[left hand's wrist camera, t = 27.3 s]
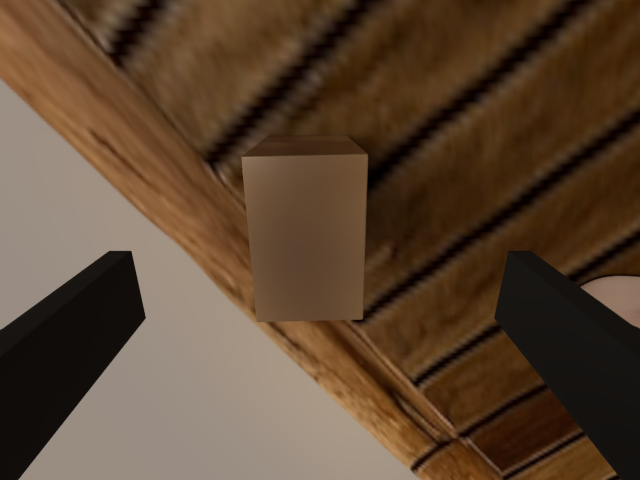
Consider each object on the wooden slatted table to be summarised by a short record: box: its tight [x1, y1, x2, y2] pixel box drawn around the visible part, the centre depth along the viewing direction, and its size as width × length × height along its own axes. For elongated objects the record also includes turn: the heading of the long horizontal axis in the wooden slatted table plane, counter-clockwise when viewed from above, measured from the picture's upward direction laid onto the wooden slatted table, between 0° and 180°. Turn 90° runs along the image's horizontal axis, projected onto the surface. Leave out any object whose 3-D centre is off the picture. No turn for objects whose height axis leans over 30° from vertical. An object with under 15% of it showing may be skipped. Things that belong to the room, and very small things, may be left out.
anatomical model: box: [581, 276, 640, 328], centre depth 29 cm, size 13×4×12 cm
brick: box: [241, 135, 368, 322], centre depth 21 cm, size 5×8×10 cm, turn 1°
